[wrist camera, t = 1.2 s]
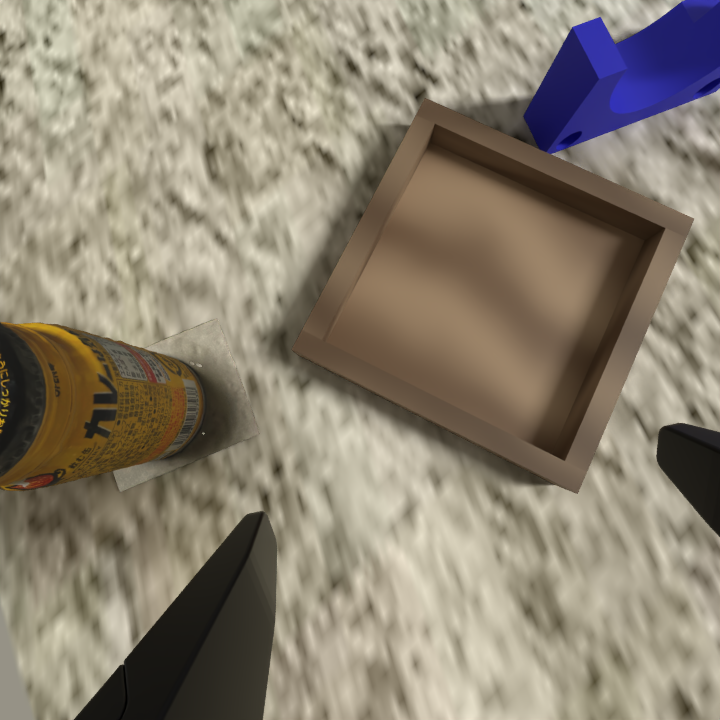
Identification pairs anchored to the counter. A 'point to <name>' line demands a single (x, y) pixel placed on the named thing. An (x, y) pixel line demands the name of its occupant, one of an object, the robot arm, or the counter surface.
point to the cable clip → (626, 75)
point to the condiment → (114, 404)
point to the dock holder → (496, 293)
